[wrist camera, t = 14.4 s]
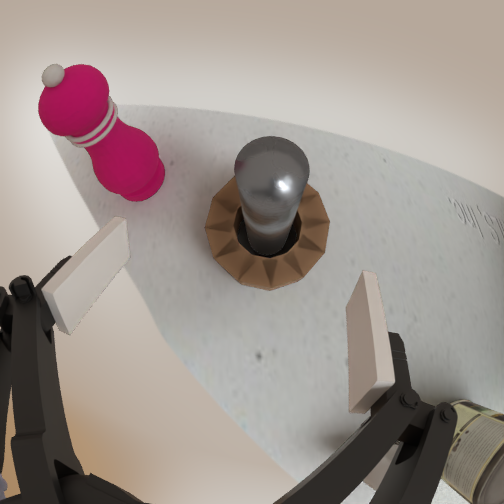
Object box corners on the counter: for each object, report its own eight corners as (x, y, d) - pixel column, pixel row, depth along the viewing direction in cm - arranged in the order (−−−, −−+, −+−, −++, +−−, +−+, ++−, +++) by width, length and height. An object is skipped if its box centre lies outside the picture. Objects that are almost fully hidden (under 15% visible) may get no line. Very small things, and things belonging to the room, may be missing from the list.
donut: (341, 457, 26) (366, 504, 16) (353, 433, 27) (385, 474, 17) (407, 466, 25) (444, 502, 16) (420, 443, 26) (461, 476, 16)
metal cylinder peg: (289, 222, 31) (314, 144, 16) (282, 258, 31) (303, 209, 15) (252, 214, 32) (243, 131, 16) (244, 250, 31) (226, 194, 15)
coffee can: (482, 389, 27) (554, 410, 13) (470, 452, 25) (529, 487, 11) (422, 410, 27) (494, 451, 13) (412, 476, 25) (464, 529, 11)
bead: (326, 198, 32) (335, 182, 27) (308, 298, 30) (316, 297, 25) (228, 178, 32) (223, 160, 28) (203, 276, 31) (193, 270, 26)
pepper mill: (172, 148, 33) (104, 22, 14) (166, 204, 32) (70, 93, 12) (119, 154, 34) (32, 52, 14) (111, 208, 32) (-4, 123, 13)
